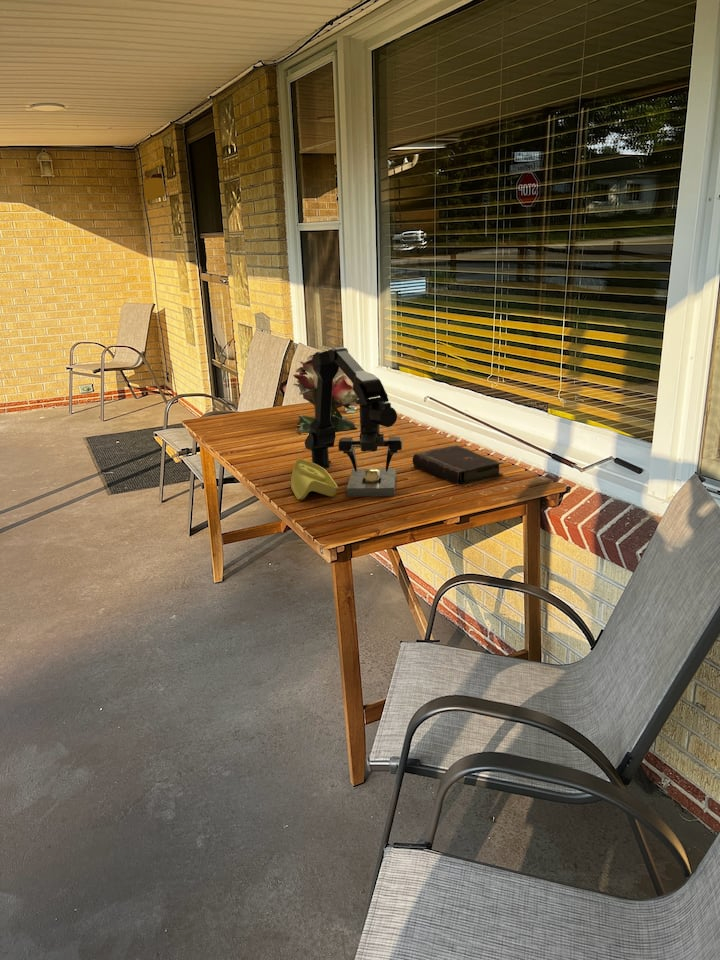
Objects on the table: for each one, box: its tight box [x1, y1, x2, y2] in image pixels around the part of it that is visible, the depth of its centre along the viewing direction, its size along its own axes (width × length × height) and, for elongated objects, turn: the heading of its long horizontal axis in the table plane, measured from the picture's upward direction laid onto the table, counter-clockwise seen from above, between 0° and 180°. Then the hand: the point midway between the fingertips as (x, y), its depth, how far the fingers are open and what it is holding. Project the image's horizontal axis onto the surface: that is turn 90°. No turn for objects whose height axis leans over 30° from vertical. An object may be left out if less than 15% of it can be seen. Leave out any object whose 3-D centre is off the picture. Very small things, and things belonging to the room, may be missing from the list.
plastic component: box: [290, 457, 339, 501], centre depth 221 cm, size 20×8×10 cm
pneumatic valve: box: [343, 398, 359, 414], centre depth 322 cm, size 6×12×12 cm, turn 101°
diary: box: [412, 445, 504, 487], centre depth 234 cm, size 19×25×5 cm
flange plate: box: [346, 467, 397, 497], centre depth 223 cm, size 20×14×3 cm
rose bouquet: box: [293, 352, 359, 434], centre depth 297 cm, size 26×29×30 cm
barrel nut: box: [364, 467, 379, 484], centre depth 219 cm, size 4×4×6 cm
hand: (371, 471), depth 219 cm, fingers open, 9 cm apart
